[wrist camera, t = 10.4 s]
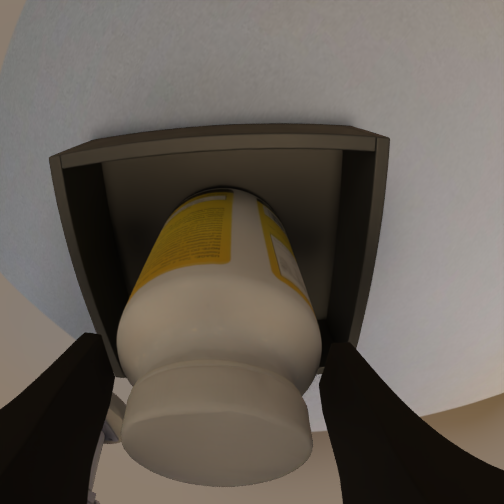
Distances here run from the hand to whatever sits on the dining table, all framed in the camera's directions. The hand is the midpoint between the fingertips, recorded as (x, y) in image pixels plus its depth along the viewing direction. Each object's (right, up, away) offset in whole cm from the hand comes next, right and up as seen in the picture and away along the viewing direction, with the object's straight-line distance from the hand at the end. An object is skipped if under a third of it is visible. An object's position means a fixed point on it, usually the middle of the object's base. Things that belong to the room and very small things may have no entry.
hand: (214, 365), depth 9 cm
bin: (0, +4, +8) cm, 9 cm away
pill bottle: (0, +4, +7) cm, 9 cm away
